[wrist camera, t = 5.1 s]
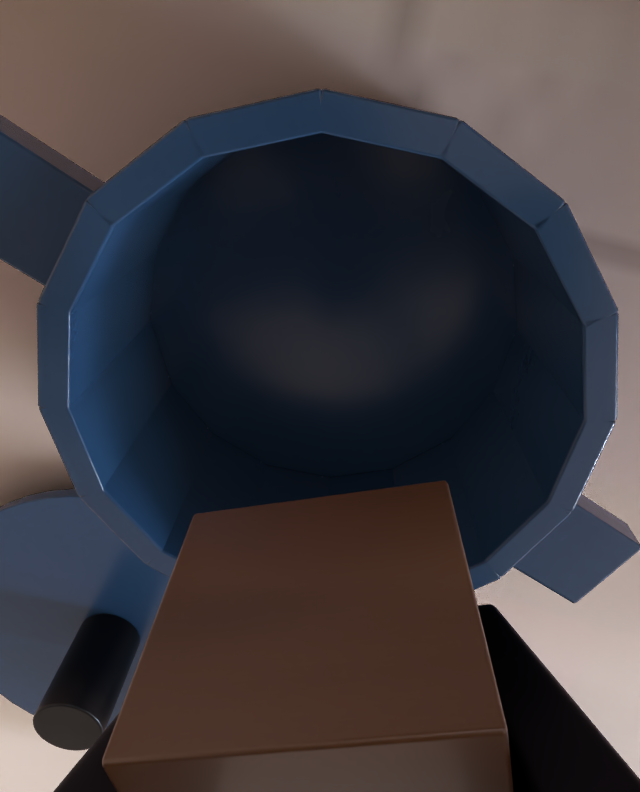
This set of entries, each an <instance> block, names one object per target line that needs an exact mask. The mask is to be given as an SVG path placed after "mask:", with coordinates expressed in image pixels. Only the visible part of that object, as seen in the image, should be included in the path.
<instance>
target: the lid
mask: <svg viewBox="0 0 640 792" xmlns="http://www.w3.org/2000/svg"><path fill="white" fill-rule="evenodd" d="M169 579H170V577H168V576H166V575H165V574H163V573H161V572H159V571H157V570H155V569H153V568H151V567H149V566H148V565H147V563H146V564H145V563H144V562H143V561H142V560H141V559H140V558H139V557H138V556H137V555H136V554H135V553H134V552H133V551H132V550H131V549H130V548H129V547H128V546H127V545H126V544H125V543H124V542H123V541H122V540H121V539H120V538H119V537H118V536H117V535H116V534H115V533H114V532H113V531H112V530H111V529H110V528H109V527H108V526H107V525H106V524H105V523H104V522H103V521H102V520H101V519H100V518H99V517H98V516H97V515H96V514H95V513H94V512H93V511H92V510H91V508H90V507H89V506H88V505H87V504H86V503H85V502H84V501H83V500H82V499H81V498H80V496H78V494H77V492H76V490H75V489H65V490H53V491H47V492H43V493H38V494H33V495H29V496H26V497H23V498H20V499H17V500H15V501H12V502H9V503H7V504H5V505H3V506H1V507H0V694H1V695H3V696H4V697H5V698H7V699H8V700H9V701H11V702H12V703H14V704H15V705H17V706H19V707H20V708H22V709H24V710H25V711H27V712H29V713H30V714H33V715H34V718H33V725H34V728H35V730H36V732H37V733H38V734H39V735H40V737H42V738H43V739H44V740H45V741H47V742H48V743H50V744H52V745H54V746H56V747H59V748H63V749H67V750H85V749H89V748H90V747H91V746H92V745H93V744H94V742H95V741H96V740H97V739H98V738H99V736H100V735H101V734H102V733H103V732H104V730H105V729H106V728H107V727H108V726H109V724H110V723H111V722H112V721H113V720H114V718H115V717H116V716H117V715H118V714H119V712H120V710H121V707H122V705H123V702H124V699H125V697H126V694H127V691H128V689H129V686H130V683H131V681H132V678H133V675H134V673H135V670H136V667H137V665H138V662H139V659H140V657H141V654H142V651H143V649H144V646H145V643H146V641H147V638H148V635H149V633H150V630H151V627H152V625H153V622H154V619H155V617H156V614H157V611H158V609H159V606H160V603H161V601H162V598H163V595H164V593H165V590H166V587H167V585H168V582H169Z"/></svg>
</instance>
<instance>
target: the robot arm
mask: <svg viewBox="0 0 640 792" xmlns="http://www.w3.org/2000/svg"><path fill="white" fill-rule="evenodd" d="M478 609H479V613H480V617H481V621H482V626H483V630H484V634H485V638H486V642H487V646H488V650H489V654H490V659H491V663H492V667H493V671H494V675H495V679H496V683H497V687H498V691H499V696H500V700H501V704H502V708H503V712H504V716H505V720H506V724H507V728H508V737H509V748H510V759H511V769H512V780H513V791H514V792H640V779H639V778H638V777H637V775H636V774H635V773H634V772H633V771H632V769H631V768H630V767H629V766H628V765H627V763H626V762H625V761H624V760H623V759H622V757H621V756H620V755H619V754H618V753H617V751H616V750H615V749H614V748H613V747H612V746H611V744H610V743H609V742H608V741H607V740H606V738H605V737H604V736H603V735H602V734H601V732H600V731H599V730H598V729H597V728H596V726H595V725H594V724H593V723H592V722H591V720H590V719H589V718H588V717H587V716H586V714H585V713H584V712H583V711H582V710H581V708H580V707H579V706H578V705H577V704H576V703H575V701H574V700H573V699H572V698H571V697H570V695H569V694H568V693H567V692H566V691H565V689H564V688H563V687H562V686H561V685H560V683H559V682H558V681H557V680H556V679H555V677H554V676H553V675H552V674H551V673H550V671H549V670H548V669H547V668H546V667H545V665H544V664H543V663H542V662H541V661H540V660H539V658H538V657H537V656H536V655H535V654H534V652H533V651H532V650H531V649H530V648H529V646H528V645H527V644H526V643H525V642H524V640H523V639H522V638H521V637H520V636H519V634H518V633H517V632H516V631H515V630H514V628H513V627H512V626H511V625H510V624H509V622H508V621H507V620H506V619H505V618H504V617H503V615H502V614H501V613H500V612H499V611H498V609H497V608H496V607H494V606H493V605H479V606H478ZM119 713H120V712H119ZM118 715H119V714H118ZM118 715H117V716H116V717H115V718H114V720H113V721H112V722H111V723H110V724H109V726H108V727H107V728H106V729H105V730H104V732H103V733H102V734H101V735H100V736H99V738H98V739H97V740H96V741H95V742H94V744H93V745H92V746H91V747H90V748H89V750H88V751H87V752H86V753H85V754H84V756H83V757H82V758H81V759H80V760H79V762H78V763H77V764H76V765H75V766H74V768H73V769H72V770H71V771H70V772H69V774H68V775H67V776H66V777H65V778H64V780H63V781H62V782H61V783H60V784H59V786H58V787H57V788H56V789H55V790H54V792H117V791H116V789H115V787H114V786H113V784H112V782H111V780H110V779H109V777H108V775H107V773H106V772H105V770H104V768H103V767H102V758H103V756H104V753H105V750H106V748H107V745H108V742H109V740H110V737H111V734H112V731H113V729H114V726H115V723H116V721H117V718H118Z"/></svg>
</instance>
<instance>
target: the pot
mask: <svg viewBox="0 0 640 792" xmlns="http://www.w3.org/2000/svg"><path fill="white" fill-rule="evenodd" d="M0 259H1V260H3V261H4V262H6V263H8V264H9V265H11V266H13V267H14V268H16V269H18V270H19V271H21V272H23V273H24V274H26V275H28V276H29V277H31V278H33V279H34V280H36V281H38V282H39V283H41V284H43V285H44V286H45V287H44V289H43V291H42V293H41V295H40V298H39V302H38V304H37V348H38V406H39V410H40V412H41V414H42V416H43V419H44V421H45V423H46V425H47V427H48V430H49V432H50V434H51V436H52V439H53V441H54V443H55V445H56V448H57V450H58V452H59V454H60V456H61V459H62V461H63V463H64V465H65V468H66V470H67V472H68V474H69V477H70V479H71V481H72V483H73V485H74V488H75V490H76V492H77V494H78V496H80V498H81V499H82V500H83V501H84V502H85V503H86V504H87V505H88V506H89V507H90V508H91V510H92V511H93V512H94V513H95V514H96V515H97V516H98V517H99V518H100V519H101V520H102V521H103V522H104V523H105V524H106V525H107V526H108V527H109V528H110V529H111V530H112V531H113V532H114V533H115V534H116V535H117V536H118V537H119V538H120V539H121V540H122V541H123V542H124V543H125V544H126V545H127V546H128V547H129V548H130V549H131V550H132V551H133V552H134V553H135V554H136V555H137V556H138V557H139V558H140V559H141V560H142V561H143V562H144V563H145V564H146V563H147V565H148V566H149V567H151V568H153V569H155V570H157V571H159V572H161V573H163V574H165V575H166V576H168V577H171V574H172V571H173V569H174V566H175V563H176V561H177V558H178V555H179V553H180V550H181V547H182V545H183V542H184V539H185V537H186V534H187V531H188V529H189V526H190V523H191V521H192V518H193V516H194V515H195V514H197V513H205V512H212V511H219V510H227V509H234V508H242V507H249V506H257V505H264V504H272V503H279V502H287V501H294V500H301V499H309V498H316V497H324V496H331V495H339V494H346V493H354V492H361V491H368V490H376V489H383V488H391V487H398V486H406V485H413V484H421V483H428V482H436V481H446V482H447V483H448V486H449V490H450V494H451V498H452V502H453V506H454V510H455V514H456V519H457V523H458V527H459V531H460V535H461V539H462V543H463V547H464V552H465V556H466V560H467V564H468V568H469V572H470V576H471V580H472V584H473V589H474V590H475V589H477V588H479V587H482V586H484V585H486V584H489V583H491V582H493V581H496V580H498V579H500V576H503V575H505V574H506V573H507V572H508V571H509V570H510V569H511V568H512V567H514V568H516V569H517V570H519V571H521V572H522V573H524V574H526V575H527V576H529V577H531V578H532V579H534V580H536V581H537V582H539V583H541V584H542V585H544V586H546V587H547V588H549V589H551V590H552V591H554V592H556V593H557V594H559V595H561V596H562V597H564V598H566V599H567V600H569V601H571V602H572V603H576V602H578V601H579V600H580V599H581V598H582V597H584V596H585V595H586V594H587V593H588V592H590V591H591V590H592V589H593V588H595V587H596V586H597V585H598V584H599V583H601V582H602V581H603V580H604V579H605V578H607V577H608V576H609V575H610V574H611V573H613V572H614V571H615V570H616V569H617V568H619V567H620V566H621V565H622V564H623V563H625V562H626V561H627V560H628V559H629V558H631V557H632V556H633V555H634V554H635V553H637V552H638V551H639V550H640V544H639V542H638V540H637V539H636V537H635V536H634V534H633V533H632V531H631V530H630V528H629V526H628V525H627V524H626V523H625V522H623V521H622V520H620V519H619V518H617V517H616V516H614V515H613V514H611V513H609V512H608V511H606V510H605V509H603V508H602V507H600V506H599V505H597V504H596V503H594V502H593V501H591V500H590V499H588V498H586V497H585V496H583V495H582V492H583V490H584V487H585V485H586V483H587V481H588V479H589V477H590V475H591V473H592V471H593V469H594V467H595V465H596V462H597V460H598V458H599V456H600V454H601V452H602V450H603V448H604V446H605V444H606V442H607V440H608V437H609V435H610V433H611V431H612V429H613V427H614V425H615V420H616V419H617V376H618V308H617V306H616V304H615V302H614V300H613V298H612V296H611V294H610V292H609V289H608V287H607V285H606V283H605V281H604V279H603V277H602V275H601V273H600V271H599V269H598V266H597V264H596V262H595V260H594V258H593V256H592V254H591V252H590V250H589V248H588V246H587V244H586V241H585V239H584V237H583V235H582V233H581V231H580V229H579V227H578V225H577V223H576V221H575V218H574V216H573V214H572V212H571V210H570V208H569V206H568V204H567V203H565V202H564V200H563V199H562V198H561V197H560V196H558V195H557V194H556V193H555V192H553V191H552V190H551V189H549V188H548V187H547V186H546V185H544V184H543V183H542V182H540V181H539V180H538V179H537V178H535V177H534V176H533V175H532V174H530V173H529V172H528V171H526V170H525V169H524V168H523V167H521V166H520V165H519V164H517V163H516V162H515V161H514V160H512V159H511V158H510V157H508V156H507V155H506V154H505V153H503V152H502V151H501V150H500V149H498V148H497V147H496V146H494V145H493V144H492V143H491V142H489V141H488V140H487V139H485V138H484V137H483V136H482V135H480V134H479V133H478V132H477V131H475V130H474V129H473V128H471V127H470V126H469V125H468V124H466V123H465V122H464V121H461V120H459V119H457V118H455V117H450V116H446V115H441V114H437V113H432V112H428V111H423V110H419V109H414V108H410V107H405V106H401V105H396V104H392V103H387V102H383V101H378V100H374V99H369V98H364V97H360V96H355V95H351V94H346V93H342V92H337V91H333V90H328V89H322V90H321V89H314V90H310V91H305V92H301V93H296V94H292V95H287V96H283V97H279V98H274V99H270V100H265V101H261V102H256V103H252V104H247V105H243V106H239V107H234V108H230V109H225V110H221V111H216V112H212V113H208V114H203V115H199V116H194V117H190V118H187V119H186V120H184V121H182V122H180V123H179V124H178V125H176V126H175V127H174V128H173V129H171V130H170V131H169V132H168V133H166V134H165V135H164V136H163V137H161V138H160V139H159V140H158V141H156V142H155V143H154V144H153V145H151V146H150V147H149V148H148V149H146V150H145V151H144V152H143V153H141V154H140V155H139V156H138V157H136V158H135V159H134V160H133V161H131V162H130V163H129V164H128V165H126V166H125V167H124V168H123V169H121V170H120V171H119V172H118V173H116V174H115V175H114V176H113V177H111V178H110V179H109V180H108V181H106V182H105V183H104V182H103V181H101V180H100V179H98V178H96V177H95V176H93V175H92V174H90V173H89V172H87V171H86V170H84V169H83V168H81V167H80V166H78V165H77V164H75V163H74V162H72V161H70V160H69V159H67V158H66V157H64V156H63V155H61V154H60V153H58V152H57V151H55V150H54V149H52V148H51V147H49V146H47V145H46V144H44V143H43V142H41V141H40V140H38V139H37V138H35V137H34V136H32V135H31V134H29V133H28V132H26V131H25V130H23V129H21V128H20V127H18V126H17V125H15V124H14V123H12V122H11V121H9V120H8V119H6V118H5V117H3V116H2V115H0Z"/></svg>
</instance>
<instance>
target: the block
mask: <svg viewBox="0 0 640 792" xmlns="http://www.w3.org/2000/svg"><path fill="white" fill-rule="evenodd" d="M102 767H103V768H104V770H105V772H106V773H107V775H108V777H109V779H110V780H111V782H112V784H113V786H114V787H115V789H116V791H117V792H514V791H513V780H512V769H511V759H510V748H509V737H508V728H507V724H506V720H505V716H504V712H503V708H502V704H501V700H500V696H499V691H498V687H497V683H496V679H495V675H494V671H493V667H492V663H491V659H490V654H489V650H488V646H487V642H486V638H485V634H484V630H483V626H482V621H481V617H480V613H479V609H478V605H477V601H476V597H475V593H474V589H473V584H472V580H471V576H470V572H469V568H468V564H467V560H466V556H465V552H464V547H463V543H462V539H461V535H460V531H459V527H458V523H457V519H456V514H455V510H454V506H453V502H452V498H451V494H450V490H449V486H448V483H447V482H446V481H436V482H428V483H421V484H413V485H406V486H398V487H391V488H383V489H376V490H368V491H361V492H354V493H346V494H339V495H331V496H324V497H316V498H309V499H301V500H294V501H287V502H279V503H272V504H264V505H257V506H249V507H242V508H234V509H227V510H219V511H212V512H205V513H197V514H195V515H194V516H193V518H192V521H191V523H190V526H189V529H188V531H187V534H186V537H185V539H184V542H183V545H182V547H181V550H180V553H179V555H178V558H177V561H176V563H175V566H174V569H173V571H172V574H171V577H170V579H169V582H168V585H167V587H166V590H165V593H164V595H163V598H162V601H161V603H160V606H159V609H158V611H157V614H156V617H155V619H154V622H153V625H152V627H151V630H150V633H149V635H148V638H147V641H146V643H145V646H144V649H143V651H142V654H141V657H140V659H139V662H138V665H137V667H136V670H135V673H134V675H133V678H132V681H131V683H130V686H129V689H128V691H127V694H126V697H125V699H124V702H123V705H122V707H121V710H120V713H119V715H118V718H117V721H116V723H115V726H114V729H113V731H112V734H111V737H110V740H109V742H108V745H107V748H106V750H105V753H104V756H103V758H102Z"/></svg>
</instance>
